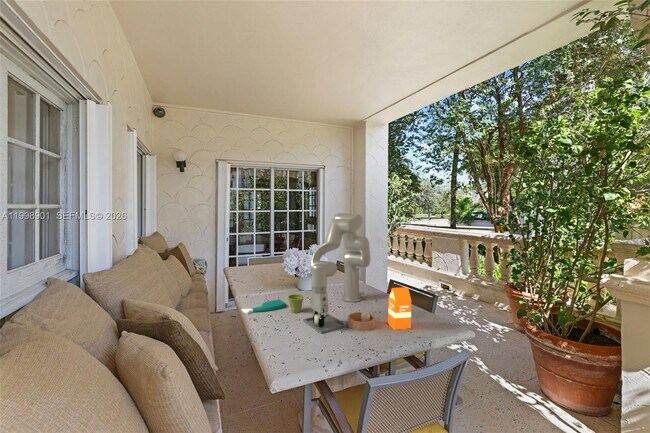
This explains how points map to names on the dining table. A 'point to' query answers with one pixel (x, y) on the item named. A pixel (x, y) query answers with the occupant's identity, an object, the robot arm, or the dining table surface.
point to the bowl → (356, 323)
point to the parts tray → (326, 324)
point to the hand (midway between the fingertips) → (318, 324)
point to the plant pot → (295, 302)
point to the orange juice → (399, 308)
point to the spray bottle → (267, 307)
